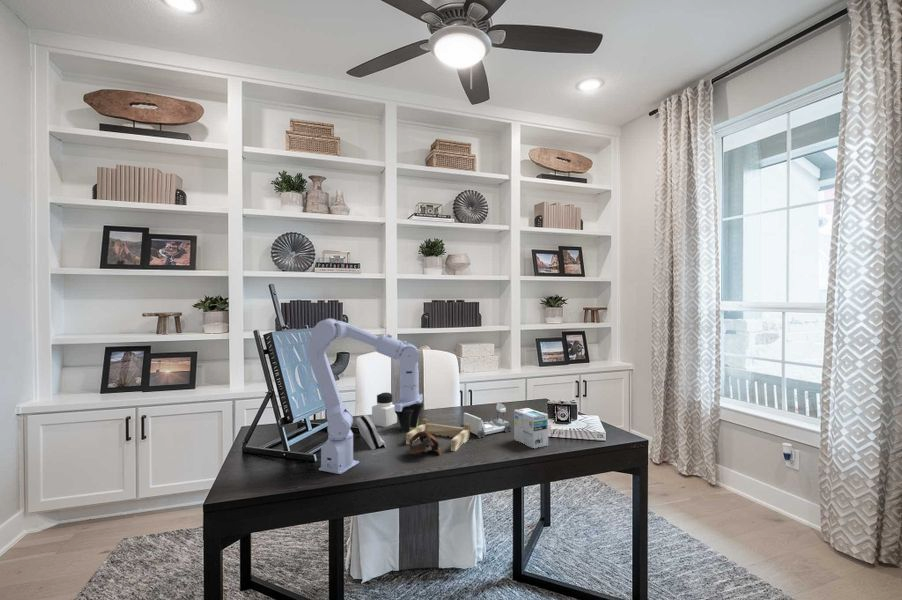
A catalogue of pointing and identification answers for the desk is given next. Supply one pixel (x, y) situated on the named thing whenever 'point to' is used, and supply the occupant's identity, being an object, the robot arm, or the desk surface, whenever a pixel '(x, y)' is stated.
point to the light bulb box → (531, 427)
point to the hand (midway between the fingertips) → (409, 429)
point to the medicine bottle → (384, 410)
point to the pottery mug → (423, 443)
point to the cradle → (443, 433)
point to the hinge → (369, 432)
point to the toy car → (487, 423)
